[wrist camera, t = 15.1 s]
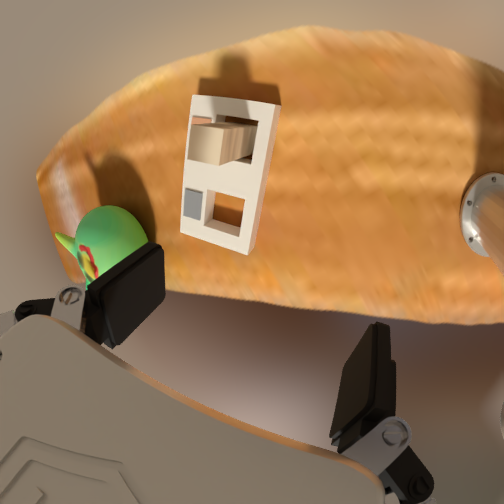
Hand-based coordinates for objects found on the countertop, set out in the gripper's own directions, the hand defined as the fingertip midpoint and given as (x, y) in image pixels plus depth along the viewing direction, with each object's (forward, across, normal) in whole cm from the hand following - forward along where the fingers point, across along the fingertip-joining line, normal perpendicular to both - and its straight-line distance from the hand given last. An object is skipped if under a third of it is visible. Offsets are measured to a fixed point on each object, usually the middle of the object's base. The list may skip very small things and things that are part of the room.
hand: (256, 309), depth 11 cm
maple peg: (+28, +13, -2) cm, 31 cm away
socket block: (+28, +14, +3) cm, 32 cm away
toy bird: (+28, +34, +21) cm, 49 cm away
